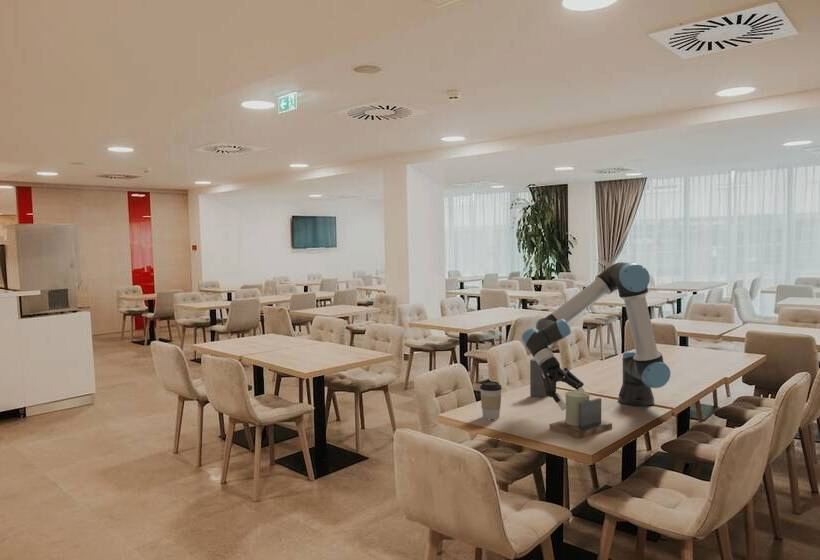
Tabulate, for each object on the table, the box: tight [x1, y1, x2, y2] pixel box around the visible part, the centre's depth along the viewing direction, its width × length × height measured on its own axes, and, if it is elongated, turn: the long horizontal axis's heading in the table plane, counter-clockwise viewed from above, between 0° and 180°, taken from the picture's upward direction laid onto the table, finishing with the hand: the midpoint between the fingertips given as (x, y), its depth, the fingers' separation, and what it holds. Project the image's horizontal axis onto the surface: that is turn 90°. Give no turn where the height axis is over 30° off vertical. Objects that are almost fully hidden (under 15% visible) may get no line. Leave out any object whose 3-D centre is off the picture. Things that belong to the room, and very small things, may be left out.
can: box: [564, 390, 590, 426], centre depth 227 cm, size 9×9×12 cm
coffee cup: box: [479, 380, 503, 420], centre depth 242 cm, size 9×9×15 cm
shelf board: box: [549, 419, 613, 439], centre depth 226 cm, size 20×14×2 cm
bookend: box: [579, 397, 606, 431], centre depth 221 cm, size 12×3×10 cm, turn 124°
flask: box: [529, 358, 550, 399], centre depth 276 cm, size 15×6×20 cm, turn 130°
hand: (576, 405), depth 227 cm, fingers open, 13 cm apart
